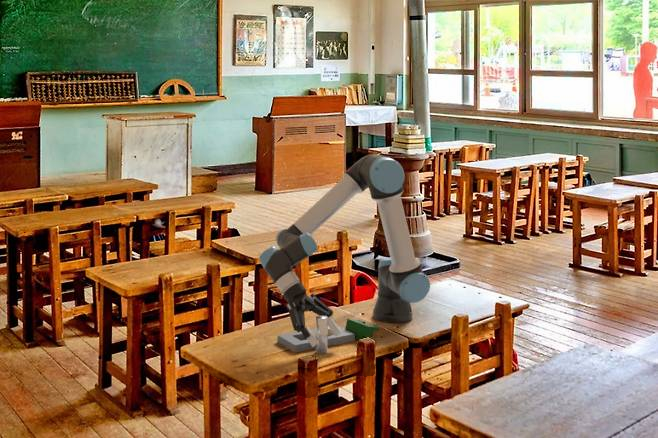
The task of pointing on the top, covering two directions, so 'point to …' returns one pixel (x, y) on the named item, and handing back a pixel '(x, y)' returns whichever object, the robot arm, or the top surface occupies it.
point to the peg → (322, 334)
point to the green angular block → (360, 328)
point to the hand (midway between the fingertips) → (327, 339)
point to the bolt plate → (300, 343)
